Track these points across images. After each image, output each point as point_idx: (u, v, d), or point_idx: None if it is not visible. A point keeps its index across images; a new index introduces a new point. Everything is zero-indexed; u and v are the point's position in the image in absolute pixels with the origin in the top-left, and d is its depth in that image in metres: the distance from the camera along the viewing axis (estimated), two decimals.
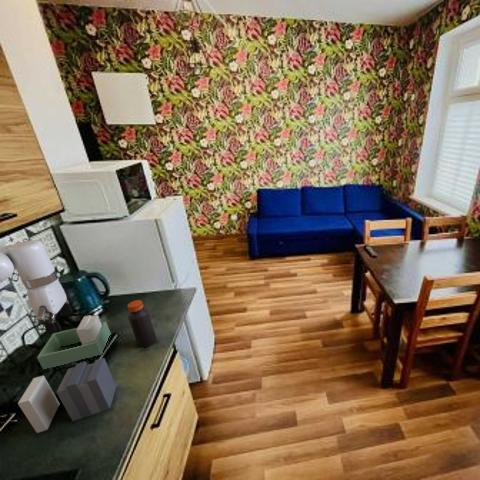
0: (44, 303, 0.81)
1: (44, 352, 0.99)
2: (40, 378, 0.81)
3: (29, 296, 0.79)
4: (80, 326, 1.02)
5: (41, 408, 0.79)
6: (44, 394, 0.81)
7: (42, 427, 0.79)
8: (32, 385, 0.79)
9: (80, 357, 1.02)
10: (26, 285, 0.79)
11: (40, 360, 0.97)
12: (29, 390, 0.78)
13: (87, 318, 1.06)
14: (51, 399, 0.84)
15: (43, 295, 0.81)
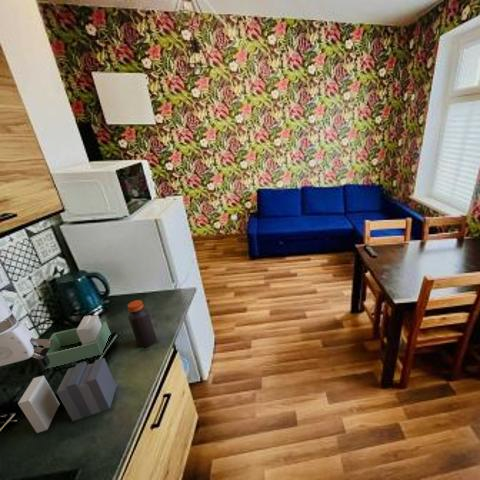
0: (30, 336, 0.74)
1: None
2: (40, 378, 0.81)
3: (18, 333, 0.71)
4: (80, 326, 1.02)
5: (41, 408, 0.79)
6: (44, 394, 0.81)
7: (42, 427, 0.79)
8: (32, 385, 0.79)
9: (80, 357, 1.02)
10: (5, 326, 0.69)
11: None
12: (29, 390, 0.78)
13: (87, 318, 1.06)
14: (51, 399, 0.84)
15: (25, 328, 0.73)
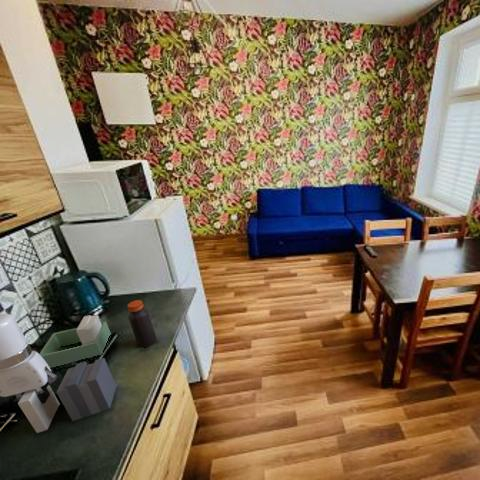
0: (44, 365, 0.78)
1: (44, 352, 0.99)
2: None
3: (34, 363, 0.75)
4: (80, 326, 1.02)
5: (41, 408, 0.79)
6: None
7: (42, 427, 0.79)
8: None
9: (80, 357, 1.02)
10: (22, 357, 0.73)
11: None
12: (29, 390, 0.78)
13: (87, 318, 1.06)
14: (51, 399, 0.84)
15: (39, 357, 0.77)
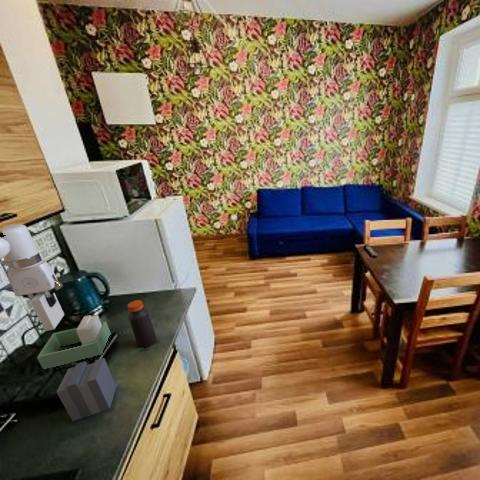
0: (51, 273, 0.93)
1: (44, 352, 0.99)
2: None
3: (43, 268, 0.90)
4: (80, 326, 1.02)
5: (49, 310, 0.95)
6: None
7: (50, 326, 0.95)
8: None
9: (80, 357, 1.02)
10: (34, 261, 0.88)
11: (40, 360, 0.97)
12: (39, 294, 0.93)
13: (87, 318, 1.06)
14: (58, 307, 1.00)
15: (48, 266, 0.93)
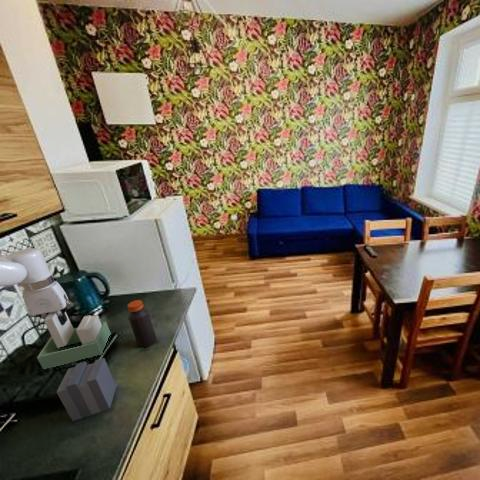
0: (63, 293, 0.98)
1: (44, 352, 0.99)
2: None
3: (56, 289, 0.95)
4: (80, 326, 1.02)
5: (61, 328, 1.00)
6: None
7: (62, 343, 1.00)
8: None
9: (80, 357, 1.02)
10: (47, 283, 0.93)
11: (40, 360, 0.97)
12: (51, 313, 0.98)
13: (87, 318, 1.06)
14: (68, 324, 1.05)
15: (60, 286, 0.98)
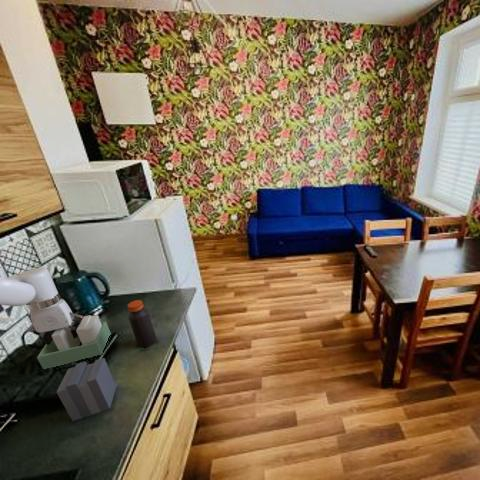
0: (69, 310, 1.01)
1: (44, 352, 0.99)
2: None
3: (62, 307, 0.98)
4: (80, 326, 1.02)
5: (68, 343, 1.03)
6: (70, 333, 1.05)
7: None
8: None
9: (80, 357, 1.02)
10: (54, 301, 0.96)
11: (40, 360, 0.97)
12: None
13: (87, 318, 1.06)
14: (75, 339, 1.08)
15: (66, 304, 1.01)
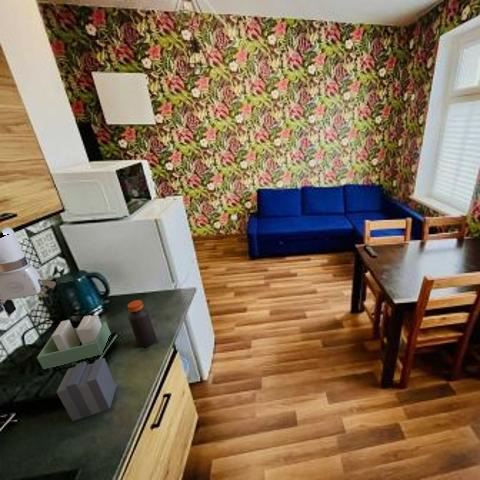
0: (38, 277, 0.91)
1: (44, 352, 0.99)
2: (66, 321, 1.05)
3: (29, 272, 0.88)
4: (80, 326, 1.02)
5: (68, 343, 1.03)
6: (70, 333, 1.05)
7: None
8: (61, 325, 1.02)
9: (80, 357, 1.02)
10: (19, 265, 0.86)
11: (40, 360, 0.97)
12: (59, 328, 1.01)
13: (87, 318, 1.06)
14: (75, 339, 1.08)
15: (34, 270, 0.90)
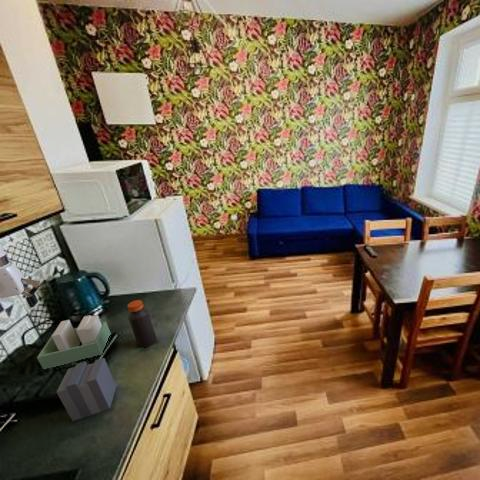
0: (20, 276, 0.87)
1: (44, 352, 0.99)
2: (66, 321, 1.05)
3: (10, 271, 0.83)
4: (80, 326, 1.02)
5: (68, 343, 1.03)
6: (70, 333, 1.05)
7: None
8: (61, 325, 1.02)
9: (80, 357, 1.02)
10: None
11: (40, 360, 0.97)
12: (59, 328, 1.01)
13: (87, 318, 1.06)
14: (75, 339, 1.08)
15: (16, 269, 0.86)
